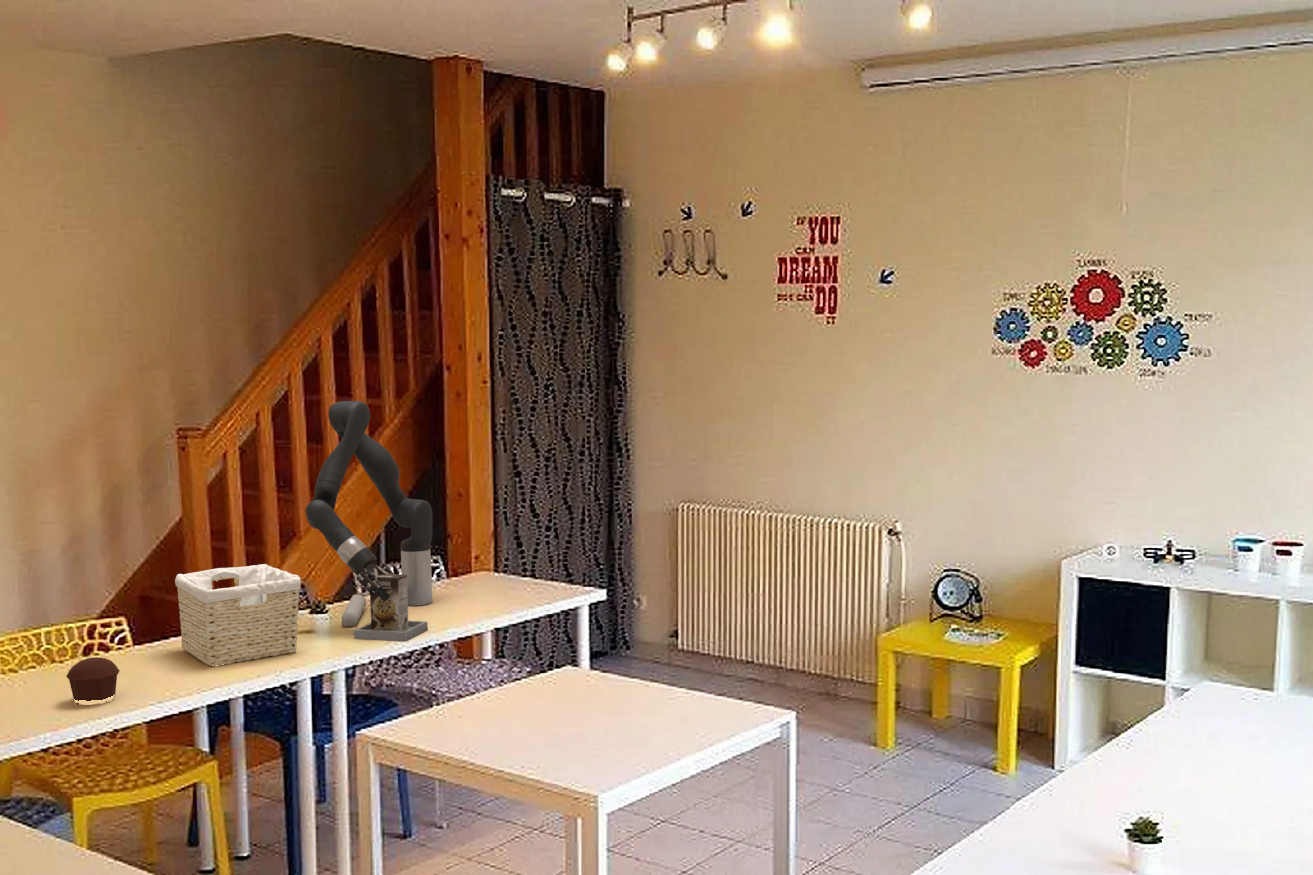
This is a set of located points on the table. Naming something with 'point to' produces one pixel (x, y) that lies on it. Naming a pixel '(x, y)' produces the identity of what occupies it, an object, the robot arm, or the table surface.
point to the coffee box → (390, 604)
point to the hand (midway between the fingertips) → (394, 596)
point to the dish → (391, 632)
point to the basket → (238, 613)
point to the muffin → (93, 679)
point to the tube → (353, 610)
